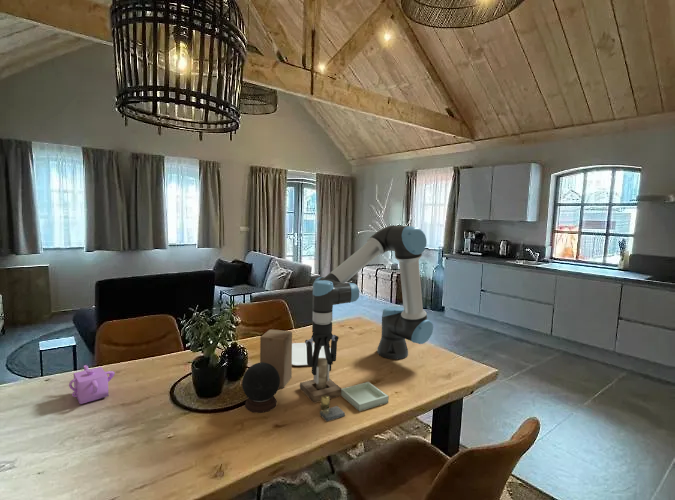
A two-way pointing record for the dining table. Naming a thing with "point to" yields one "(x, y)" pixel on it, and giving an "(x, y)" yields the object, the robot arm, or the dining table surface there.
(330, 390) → the socket block
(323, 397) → the cylinder
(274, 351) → the wooden block
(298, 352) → the plate
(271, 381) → the black ball on stand
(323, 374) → the dowel
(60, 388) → the dining table surface
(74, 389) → the teapot
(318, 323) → the robot arm
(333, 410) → the steel plate
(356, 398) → the tray
